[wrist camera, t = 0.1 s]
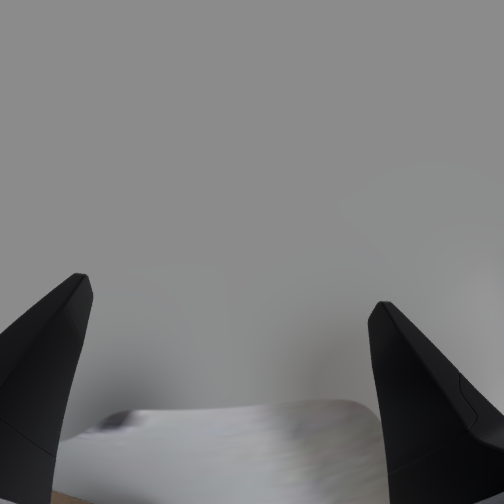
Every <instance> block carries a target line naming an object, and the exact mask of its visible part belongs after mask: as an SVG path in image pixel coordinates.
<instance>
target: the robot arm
mask: <svg viewBox="0 0 504 504" xmlns="http://www.w3.org/2000/svg"><path fill="white" fill-rule="evenodd" d="M92 302H93V292H92V288H91V285H90V281H89V278H88V276H87V275H86V274H81V273H74V274H73V275H71V276H70V277H69V278H67V279H66V280H65V281H63V283H61V284H60V285H58V286H57V287H56V288H55V289H53V290H52V291H51V292H49V293H48V294H47V295H46V296H44V297H43V298H42V299H41V300H40V301H38V302H37V303H36V304H35V305H33V306H32V307H31V308H30V309H29V310H27V311H26V312H25V313H24V314H23V315H22V316H20V317H19V318H18V319H17V320H16V321H15V322H13V323H12V324H11V325H10V326H9V327H8V328H7V329H5V330H4V331H3V332H2V333H1V334H0V504H50V502H51V492H52V484H53V476H54V469H55V462H56V455H57V449H58V444H59V438H60V433H61V428H62V423H63V419H64V414H65V410H66V405H67V401H68V397H69V393H70V389H71V385H72V382H73V377H74V374H75V371H76V367H77V364H78V360H79V357H80V353H81V350H82V347H83V343H84V338H85V334H86V329H87V324H88V320H89V315H90V311H91V307H92ZM368 332H369V342H370V352H371V361H372V369H373V375H374V380H375V385H376V391H377V397H378V403H379V409H380V416H381V423H382V430H383V437H384V445H385V453H386V462H387V472H388V485H389V498H390V504H504V415H502V413H500V412H499V411H498V410H497V409H496V408H495V407H494V406H493V405H492V404H491V403H490V402H489V401H488V400H487V399H486V398H485V397H484V396H483V395H482V394H481V393H479V391H478V390H476V389H475V388H474V386H473V385H472V384H471V383H470V382H469V381H468V380H467V379H466V378H465V377H464V376H463V375H462V374H461V373H460V372H459V371H458V369H457V368H456V367H455V366H454V365H453V364H452V363H451V362H450V361H449V360H448V359H447V358H446V357H445V356H444V355H443V354H442V353H441V351H440V350H439V349H438V348H437V347H435V345H434V344H433V343H432V342H431V341H430V340H429V339H428V338H427V337H426V336H425V335H424V334H423V333H422V332H421V331H420V330H419V329H418V328H417V327H416V326H415V325H414V324H413V323H412V322H411V321H410V320H409V319H408V318H407V317H406V316H405V315H404V314H403V313H402V312H401V311H400V310H399V309H398V308H397V307H395V305H393V304H392V303H391V302H388V301H387V302H386V301H380V302H378V303H377V305H376V306H375V308H374V310H373V311H372V313H371V315H370V317H369V319H368Z"/></svg>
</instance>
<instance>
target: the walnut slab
mask: <svg viewBox="0 0 504 504" xmlns="http://www.w3.org/2000/svg"><path fill="white" fill-rule="evenodd" d="M50 503H52V504H92V503H89V502H86V501H83V500H80V499H77V498H74V497H71V496H67V495H64V494H61V493H58V492H56V491H53V490H52V495H51V502H50Z"/></svg>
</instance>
